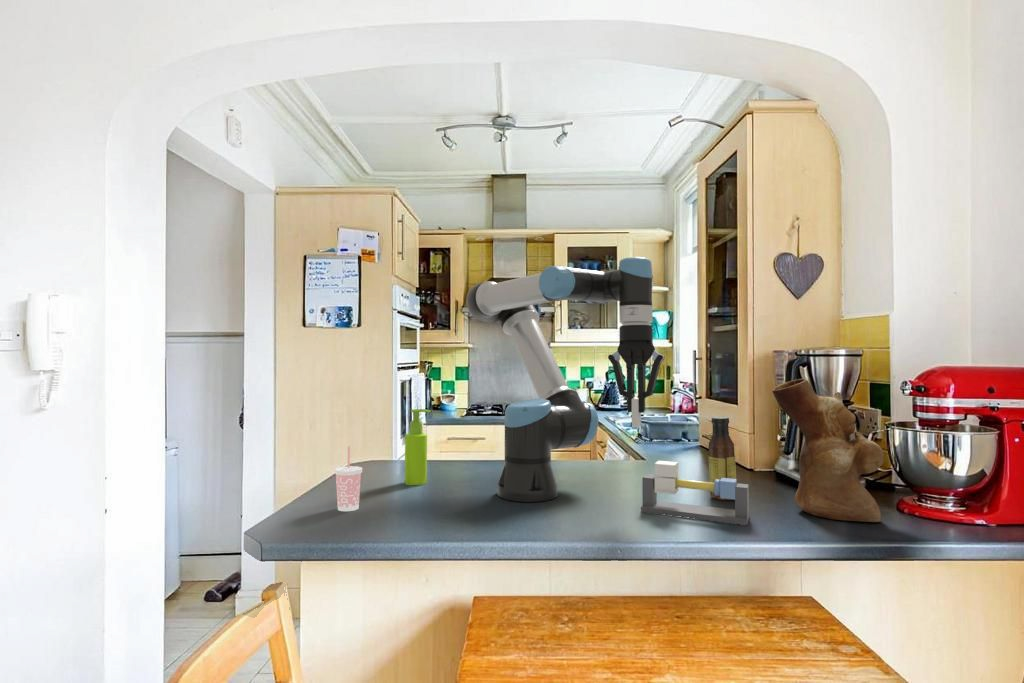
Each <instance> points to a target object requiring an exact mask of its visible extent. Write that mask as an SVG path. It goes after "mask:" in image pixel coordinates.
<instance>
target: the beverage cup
mask: <svg viewBox="0 0 1024 683" xmlns="http://www.w3.org/2000/svg"><path fill="white" fill-rule="evenodd" d="M362 473H363V467H361V466H357V465H356V466H353V465H351V447H350V446H347V466H340V467H336V468H334V474H335V481H336V482H335V483H336V500H337V501H336V502H337V511H340V512H352V511H357V510H358V509H359V506H360V493H361V492H360V491H361V480H362V478H361V477H362Z"/></svg>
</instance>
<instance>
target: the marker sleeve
mask: <svg viewBox="0 0 1024 683" xmlns="http://www.w3.org/2000/svg"><path fill="white" fill-rule="evenodd" d="M654 475H655V492H656V493H657V494H665V495H666V494H667V495H674V496H675V495H676V494H677V492H678V491H679V487H675V479H679V461H667V460H657V461H655V462H654Z"/></svg>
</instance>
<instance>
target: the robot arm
mask: <svg viewBox="0 0 1024 683" xmlns="http://www.w3.org/2000/svg"><path fill="white" fill-rule="evenodd" d="M652 266H653V264H652V261H651V259H650V258H647V257H641V256H633V257H625V258H623V259H622V258H621V259H620V260H619V264H618V267H617V268H618V269H615V270H609V271H599V270H591V269H582V268H576V267H575V268H574V267H569V266H564V265H549V266H547V267H545V269H544V270H543V271H542V272H538V273H536V274H535V273H534V274H530V275H526V276H521V277H517V278H514V279H513V278H512V279H510V280H509V279H508V280H504V281H500V282H496V281H493V280H492V281H491V280H490V281H483V282H479V283H477V284H474V285H473V286H472V287H471V288H470V289H469V290H468V291H467V294H466V298H465V302H466V308H467V310H468V312H469V313H470V315H471V316H473V318H474V319H476V320H479V321H481V322H485V323H495V324H496V323H497V324H500V327H501V329H502V331H503V333H504V334H505V335H507V336H510V337H511V338H512V342H513V343H514V346H515V347H516V350H517V351H518V354H519V357H520V360H521V362H522V363H523V366H524V367H525V370H526V371H527V374H528V377H529V379H530V382H531V383H532V386H533V388H534V389H535V393H536V395H537V397H538V398H534V399H525V400H519V401H514V402H512V403H510V404H508V405H507V407H506V408H505V411H504V420H503V425H504V464H503V467H502V470H501V474H500V476H499V480H498V483H497V493H496V494H497V496H498V497H499V498H501V499H503V500H507V501H512V502H519V503H520V502H521V503H522V502H523V503H534V502H535V503H536V502H546V501H550V500H553V499H556V498H557V497H558V496H559V490H558V489H559V486H558V482H557V479H556V477H555V476H556V475H555V474H554V470H553V467H552V461H551V460H552V458H551V457H552V451H553V450H560V449H561V450H562V449H569V448H574V449H575V448H579V447H581V446H586V445H588V444H589V443H592V441H593V440H594V439H595V437H596V435H597V433H598V427H599V416H598V412H597V410H596V408H595V406H594V405H593V404H592V403H589V402H588V401H586V400H585V401H582V399H581V397H580V395H579V393H578V391H577V390H576V389H574V388H570V387H569V386H568V384H567V382H566V379H565V378H564V375H563V373H562V370H561V369H560V366H558V363H557V361H556V358H555V357H554V354H553V352H552V351H551V349H550V347H549V344H548V343H547V340H546V338H545V336H544V334H543V332H542V329H541V328H540V326H539V324H538V323H539V321H540V316H541V311H542V308H541V307H540V306H541V305H542V304H547V303H553V302H560V301H578V302H579V301H580V302H581V301H582V302H586V303H587V304H594V305H595V304H599V305H601V304H604V303H612V302H619V303H618V304H619V305H618V306H619V308H618V309H619V324H621V325H620V326H619V328H618V329H619V333H618V334H619V344H618V347H617V348H616V349H617V351H615V352H613V353H612V354H608V357H607V359H608V360H609V361H610V363H611V364H612V365H611V366H612V369H613V373H614V377H615V380H616V385H617V390H618V394H619V395H620V396H622V397H625V398H626V399H627V401H626V402H627V403H626V404H627V408H626V410H627V412H628V413H631V428H641V427H642V413H645V411H646V398H649V397H651V396H653V395H654V392H655V387H656V384H657V379H658V375H659V371H660V368H661V364H662V362H664V360H665V358H666V357H665V355H664V354H661V353H659V352H658V351H656V348H655V346H654V342H653V341H654V340H653V337H654V335H653V334H654V333H653V332H654V331H653V328H654V327H653V326H652V325H651V324H652V323H653V279H654V277H653V276H654V275H653V268H652ZM651 357H652V361H653V362H652V365H651V369H650V374H649V377H648V382H647V387H646V379H647V378H646V368H647V363H648V362H649V360H650V359H651ZM621 359H623V362H624V363H625V368H626V381H625V377H624V373H623V370H622V367H621V366H622V365H621V363H620V360H621ZM636 367H637V397H636V394H635V388H636V387H635V369H636Z"/></svg>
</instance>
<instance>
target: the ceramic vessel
mask: <svg viewBox="0 0 1024 683" xmlns="http://www.w3.org/2000/svg"><path fill="white" fill-rule="evenodd" d="M771 391H772V393H773V396H774V397H775V400H776V402H777V403H778V406H779V407H780V408H781V410H782V411H783V412H784V413H785V414H786V416H787V417H788V418H789V419H790V420H791V421H792V422H793V423H794V424H795V425H796V426H797V428H799V430H800V431H801V433H802V434H803V437H804V442H803V445H802V448H801V451H800V452H801V453H800V455H799V457H798V460H799V465H798V466H799V467H798V470H799V471H798V472H799V482H798V488H797V490H796V493H795V495H794V502H795V503H796V504H797V505H798V506H799V507H800V509H801V510H802V511H804V512H805V513H807V514H810V515H812V516H816V517H819V518H825V519H829V520H836V521H838V520H839V521H847V522H848V521H849V522H866V523H870V522H871V523H879V522H881V521H882V514H881V510H880V507H879V504H878V503H877V501H876V499H875V498H874V497H873V496H872V494H871V493H870V492H869V491H868V489H866V488H865V486H864V485H863V483H862V482H861V479H860V477H861V475H866V474H870V473H874V472H875V471H877V470H878V469H879V468H880V467H881V466H882V465H883V463H884V461H885V453H884V450H883V449H882V447H881V445H879V444H878V443H876V442H875V441H872V440H870V439H868V438H867V437H865V436H864V435H863V434H862V433H861V432H859V431H855V430H856V424H855V423H856V420H857V418H856V415H855V414H854V413H853V412H851V410H850V409H849V408H847V406H845V405H844V403H843V396H842V394H841V392H840V391H836V392H835V393H834V395H833V396H822V395H817V394H816V393H815V391H814V390H813V388H812V385H811V383H810V382H809V380H808V379H807V378H798V379H793V380H790V381H789V380H788V381H786V382H783V383H780V384H778V385H776V386H774V387H773V388H772V389H771ZM850 435H854V438H853V439H850V440H847V437H849V436H850Z"/></svg>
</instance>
